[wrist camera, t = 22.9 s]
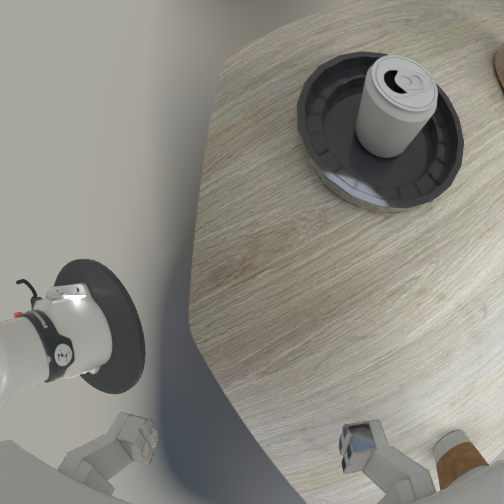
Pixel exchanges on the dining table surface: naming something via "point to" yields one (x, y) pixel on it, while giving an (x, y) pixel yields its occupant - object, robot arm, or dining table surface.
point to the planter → (500, 64)
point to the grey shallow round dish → (361, 160)
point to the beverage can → (394, 105)
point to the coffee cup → (456, 459)
